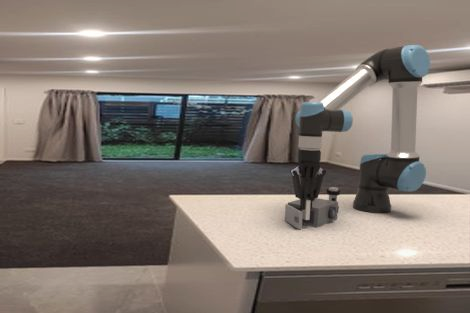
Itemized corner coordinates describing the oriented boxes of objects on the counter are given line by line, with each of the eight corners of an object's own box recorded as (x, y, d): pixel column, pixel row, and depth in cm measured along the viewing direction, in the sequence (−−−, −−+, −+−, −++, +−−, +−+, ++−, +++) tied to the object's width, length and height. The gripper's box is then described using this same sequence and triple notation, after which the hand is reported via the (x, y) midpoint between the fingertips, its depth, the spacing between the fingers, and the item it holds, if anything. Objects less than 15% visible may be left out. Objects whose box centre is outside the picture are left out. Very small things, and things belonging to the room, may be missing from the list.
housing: (308, 213, 156) (309, 194, 155) (340, 219, 147) (341, 200, 147) (286, 220, 143) (287, 200, 142) (320, 228, 135) (321, 207, 134)
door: (287, 219, 143) (287, 204, 142) (301, 228, 132) (302, 212, 131) (282, 219, 142) (283, 204, 142) (297, 229, 131) (298, 212, 131)
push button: (329, 215, 154) (331, 189, 152) (319, 212, 158) (321, 187, 157) (341, 213, 157) (343, 188, 156) (331, 210, 162) (333, 186, 160)
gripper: (319, 148, 138) (315, 215, 141) (286, 147, 133) (282, 217, 136) (332, 150, 131) (328, 220, 134) (298, 150, 126) (294, 223, 129)
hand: (305, 218), depth 135 cm, fingers closed
